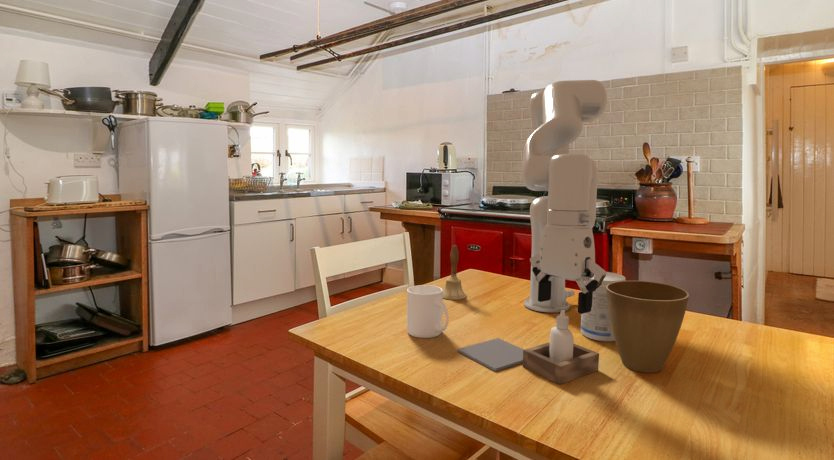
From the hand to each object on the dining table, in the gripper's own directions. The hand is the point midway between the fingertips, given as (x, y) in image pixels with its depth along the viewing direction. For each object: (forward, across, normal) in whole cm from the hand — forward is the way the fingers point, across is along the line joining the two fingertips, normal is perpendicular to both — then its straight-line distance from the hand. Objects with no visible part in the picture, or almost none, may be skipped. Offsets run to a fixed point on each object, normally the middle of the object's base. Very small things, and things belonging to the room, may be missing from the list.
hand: (563, 306), depth 93 cm
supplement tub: (+13, +8, -24) cm, 28 cm away
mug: (+13, +31, +10) cm, 35 cm away
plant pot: (+13, -7, -16) cm, 22 cm away
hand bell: (+12, +54, -15) cm, 57 cm away
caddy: (+13, +1, -1) cm, 13 cm away
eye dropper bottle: (+13, +1, -1) cm, 13 cm away
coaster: (+13, +13, +5) cm, 19 cm away
